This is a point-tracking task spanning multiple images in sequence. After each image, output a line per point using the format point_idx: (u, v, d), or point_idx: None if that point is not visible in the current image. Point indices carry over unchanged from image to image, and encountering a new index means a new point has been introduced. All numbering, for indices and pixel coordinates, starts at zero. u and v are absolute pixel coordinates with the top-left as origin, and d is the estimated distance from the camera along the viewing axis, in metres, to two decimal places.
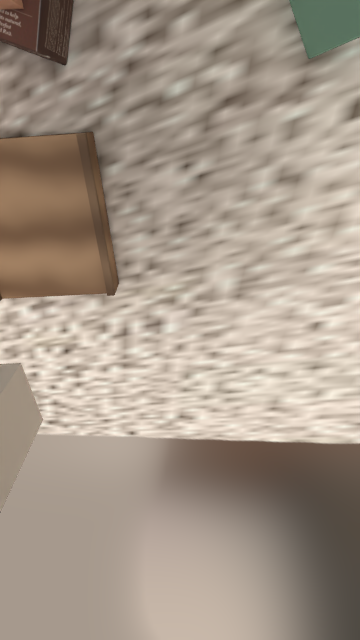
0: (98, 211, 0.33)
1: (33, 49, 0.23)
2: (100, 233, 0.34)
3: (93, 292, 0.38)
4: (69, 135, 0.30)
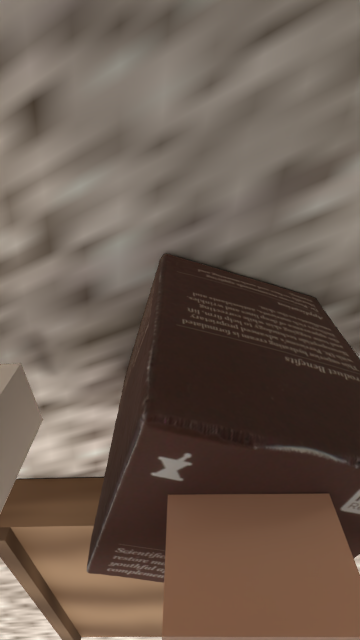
0: None
1: None
2: None
3: None
4: None
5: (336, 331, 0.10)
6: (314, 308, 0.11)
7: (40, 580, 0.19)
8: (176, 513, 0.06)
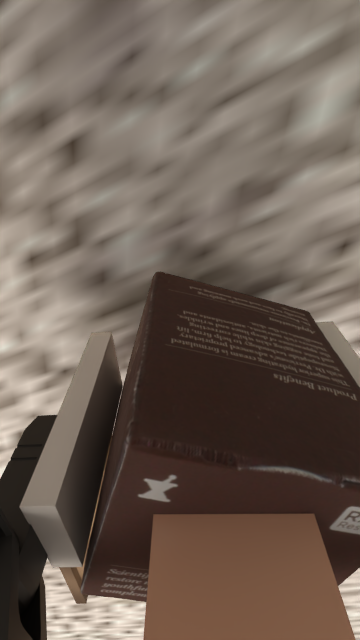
0: None
1: None
2: None
3: None
4: None
5: (328, 345, 0.10)
6: (306, 322, 0.11)
7: None
8: (161, 533, 0.06)
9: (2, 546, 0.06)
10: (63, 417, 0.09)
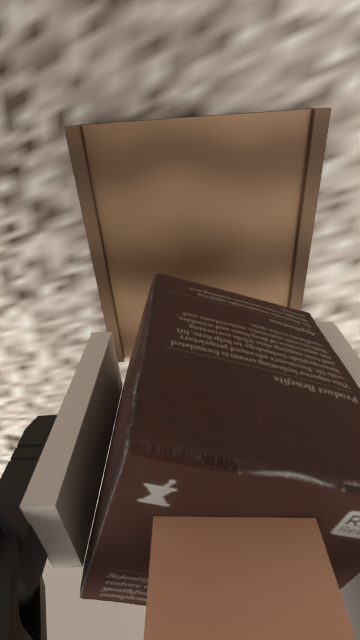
0: (310, 235, 0.21)
1: None
2: (303, 268, 0.22)
3: None
4: (296, 111, 0.18)
5: (328, 347, 0.10)
6: (307, 324, 0.11)
7: (99, 226, 0.21)
8: (161, 536, 0.06)
9: (2, 546, 0.06)
10: (63, 417, 0.09)
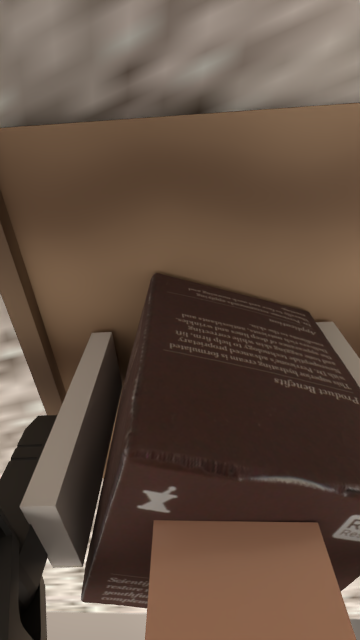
0: None
1: None
2: None
3: None
4: None
5: (329, 346, 0.10)
6: (307, 323, 0.11)
7: (35, 307, 0.12)
8: (162, 540, 0.06)
9: (2, 546, 0.06)
10: (63, 417, 0.09)
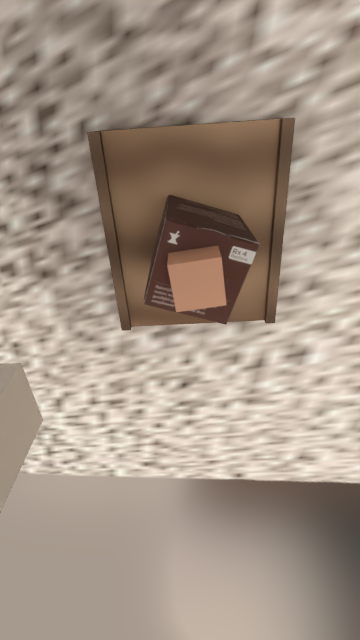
0: (283, 219, 0.26)
1: (224, 323, 0.23)
2: (279, 247, 0.27)
3: (246, 319, 0.31)
4: (269, 121, 0.23)
5: (243, 222, 0.24)
6: (236, 216, 0.25)
7: (113, 213, 0.26)
8: (171, 254, 0.20)
9: None
10: None
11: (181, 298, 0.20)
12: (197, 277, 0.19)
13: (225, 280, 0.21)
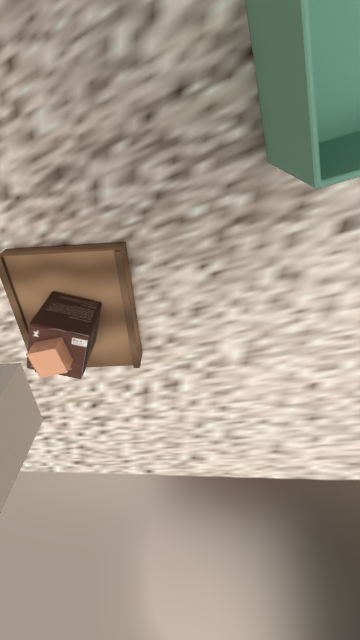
0: (129, 306, 0.39)
1: (79, 378, 0.36)
2: (130, 322, 0.40)
3: (121, 364, 0.45)
4: (107, 251, 0.36)
5: (96, 311, 0.38)
6: (95, 305, 0.39)
7: (18, 301, 0.40)
8: (34, 344, 0.34)
9: None
10: None
11: (40, 370, 0.33)
12: (45, 359, 0.33)
13: (73, 355, 0.35)
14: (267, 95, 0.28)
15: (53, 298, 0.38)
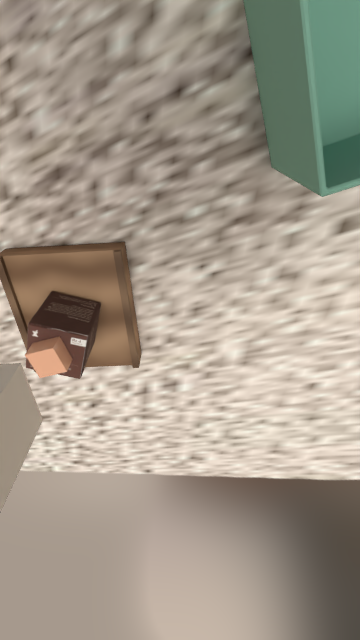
0: (128, 306, 0.39)
1: (78, 378, 0.36)
2: (129, 322, 0.41)
3: (120, 364, 0.45)
4: (107, 251, 0.36)
5: (95, 311, 0.38)
6: (95, 305, 0.39)
7: (17, 301, 0.40)
8: (33, 344, 0.34)
9: None
10: None
11: (39, 370, 0.33)
12: (44, 359, 0.33)
13: (72, 355, 0.35)
14: (269, 103, 0.28)
15: (52, 298, 0.38)
